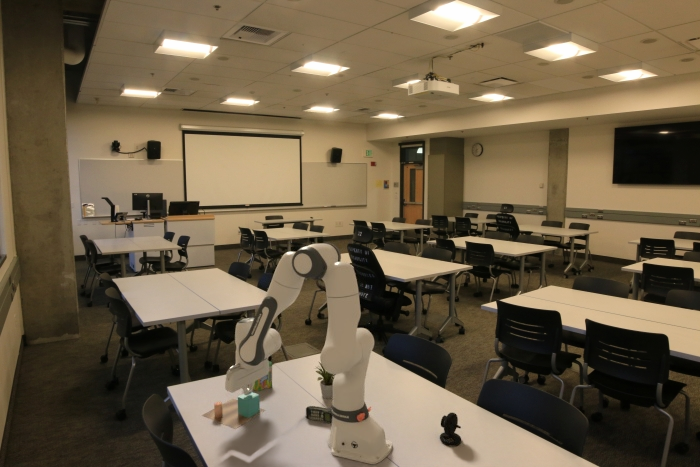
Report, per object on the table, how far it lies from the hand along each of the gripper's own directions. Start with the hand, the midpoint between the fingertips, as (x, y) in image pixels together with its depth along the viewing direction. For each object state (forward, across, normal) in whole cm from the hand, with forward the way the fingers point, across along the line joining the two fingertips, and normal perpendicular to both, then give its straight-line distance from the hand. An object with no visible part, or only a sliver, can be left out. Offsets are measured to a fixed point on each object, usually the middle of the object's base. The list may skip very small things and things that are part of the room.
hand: (248, 393), depth 173 cm
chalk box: (+10, +20, +14) cm, 26 cm away
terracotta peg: (+8, -8, +8) cm, 14 cm away
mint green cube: (+8, 0, 0) cm, 8 cm away
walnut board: (+9, -3, +5) cm, 11 cm away
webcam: (+9, +26, -72) cm, 77 cm away
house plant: (+9, +29, -17) cm, 35 cm away
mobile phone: (+10, +13, -27) cm, 31 cm away
